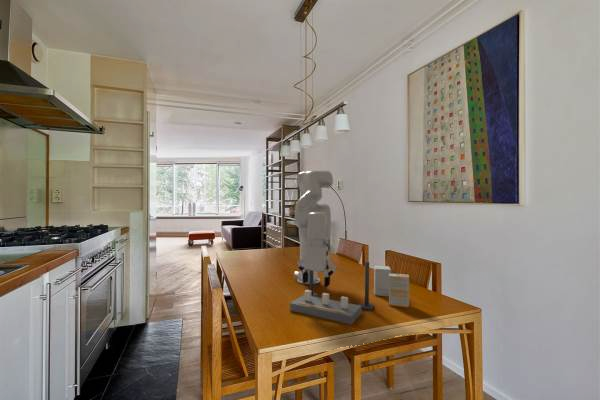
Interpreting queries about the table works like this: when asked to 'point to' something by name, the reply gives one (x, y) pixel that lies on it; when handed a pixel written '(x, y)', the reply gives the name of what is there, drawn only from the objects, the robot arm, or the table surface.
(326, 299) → the paddle mid
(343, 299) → the paddle right
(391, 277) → the supplement box
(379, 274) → the supplement box
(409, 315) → the table surface
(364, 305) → the cord posts
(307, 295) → the paddle left
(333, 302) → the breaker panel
